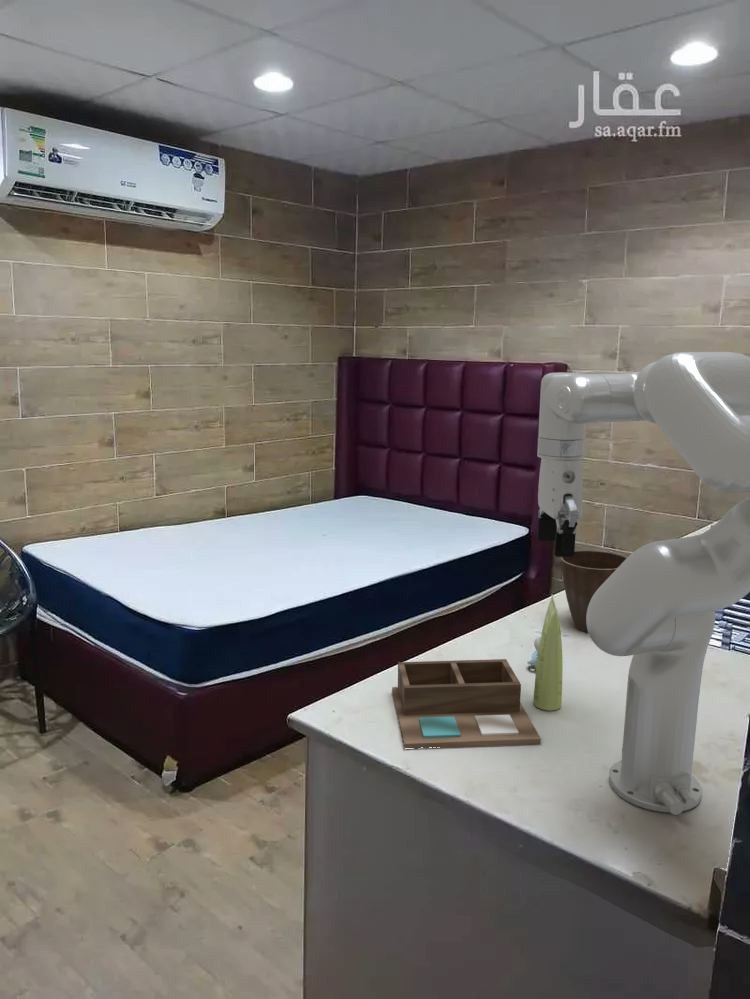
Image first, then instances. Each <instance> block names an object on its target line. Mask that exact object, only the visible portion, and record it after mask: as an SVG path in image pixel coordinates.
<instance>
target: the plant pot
mask: <svg viewBox="0 0 750 999" xmlns="http://www.w3.org/2000/svg"><path fill="white" fill-rule="evenodd" d="M627 558H628V557H625V556H623V555H620V554H617V553H612V552H607V551H599V550H576V551H574V556H572V557H560V564H561V571H562V572H561V574H562V580H563V588H564V592H565V596H566V601H567V604H568V608H569V609H568V610H569V612H570V615H571V619H572V621H573V624H574V626H575V628H576V629H577V630H579V631H581V632H585V633H588V630H587V623H586V615H587V609H588V606H589V603H590V601H591V599H592V597H593V595H594V594H595V592H596V591H597V590H598V588H599V587H600V586H601V585H602V584H603V583H604V582H605V581H606V580H607V579H608V578H609V577H610V575H611V574H612V573H613V572H614V571H615V570H616V569H617V568H618V567H619V566H620V565H621V564H622V563H623V562H624V561H625V560H626V559H627Z"/></svg>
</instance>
